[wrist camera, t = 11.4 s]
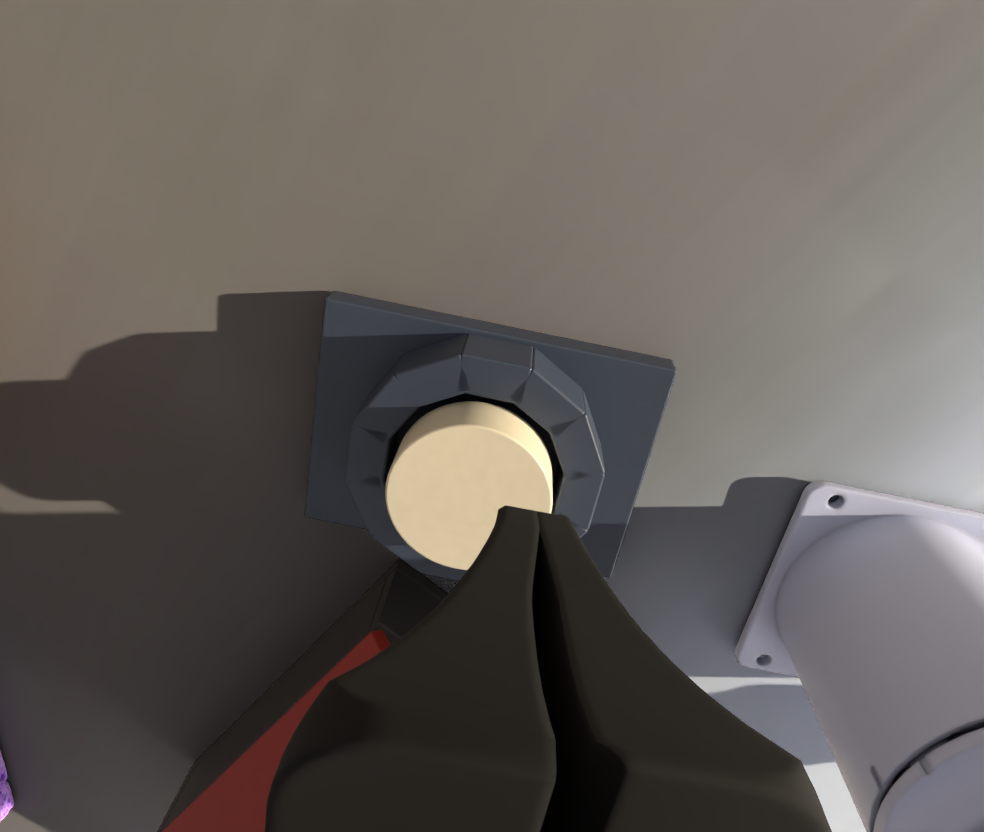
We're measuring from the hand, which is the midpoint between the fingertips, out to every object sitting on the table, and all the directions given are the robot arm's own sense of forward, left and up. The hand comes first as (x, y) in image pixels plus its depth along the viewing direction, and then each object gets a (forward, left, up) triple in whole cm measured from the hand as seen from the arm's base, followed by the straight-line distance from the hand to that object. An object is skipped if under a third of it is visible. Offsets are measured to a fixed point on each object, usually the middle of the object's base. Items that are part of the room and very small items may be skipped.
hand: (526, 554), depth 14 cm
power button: (+1, +3, -8) cm, 8 cm away
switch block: (+1, +3, -10) cm, 11 cm away
